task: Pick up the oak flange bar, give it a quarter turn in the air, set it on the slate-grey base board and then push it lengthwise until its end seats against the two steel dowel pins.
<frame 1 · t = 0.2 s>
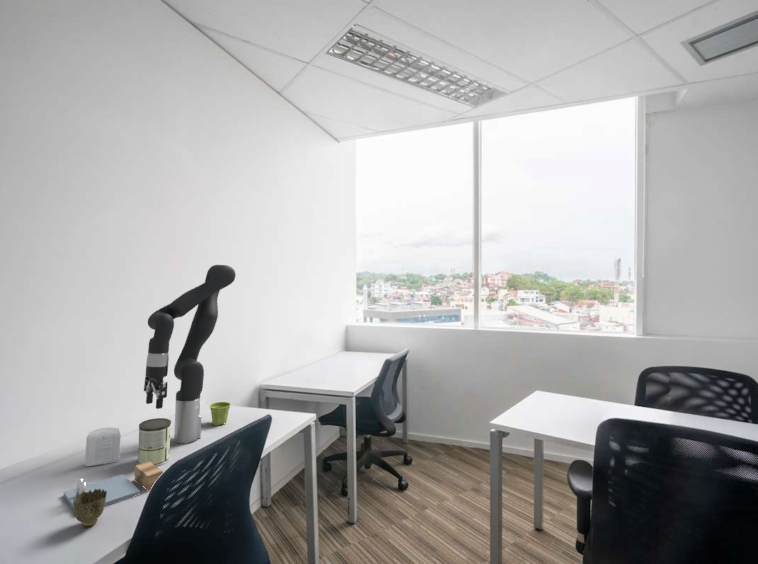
hand: (154, 405, 158), 17 cm above the table, tool pointing down, fingers open, 8 cm apart
base board: (102, 495, 125), on the table
coffee can: (153, 461, 149), on the table
dowel pins: (80, 502, 121), resting on base board
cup: (89, 525, 111), on the table
photo printer: (102, 463, 146), on the table
flange bar: (148, 483, 133), on the table
plant pot: (219, 423, 189), on the table
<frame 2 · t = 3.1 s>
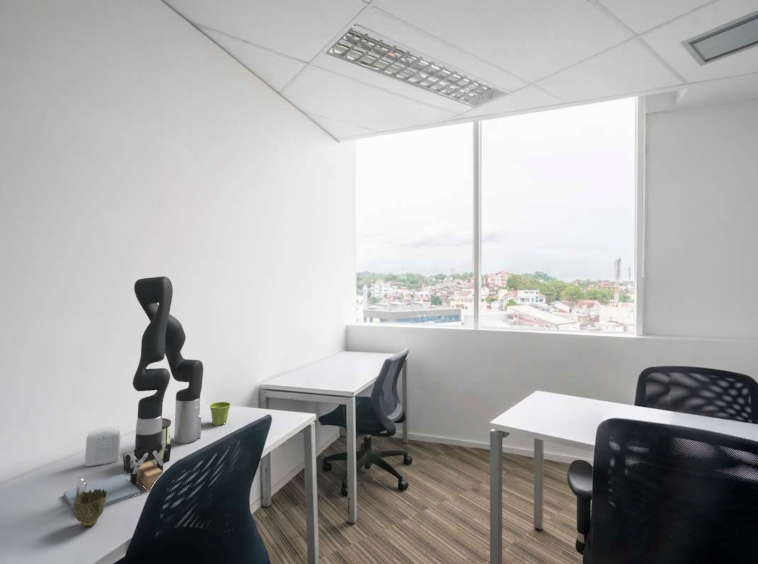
hand: (146, 480, 133), 1 cm above the table, tool pointing down, fingers open, 7 cm apart
nothing on the table moved.
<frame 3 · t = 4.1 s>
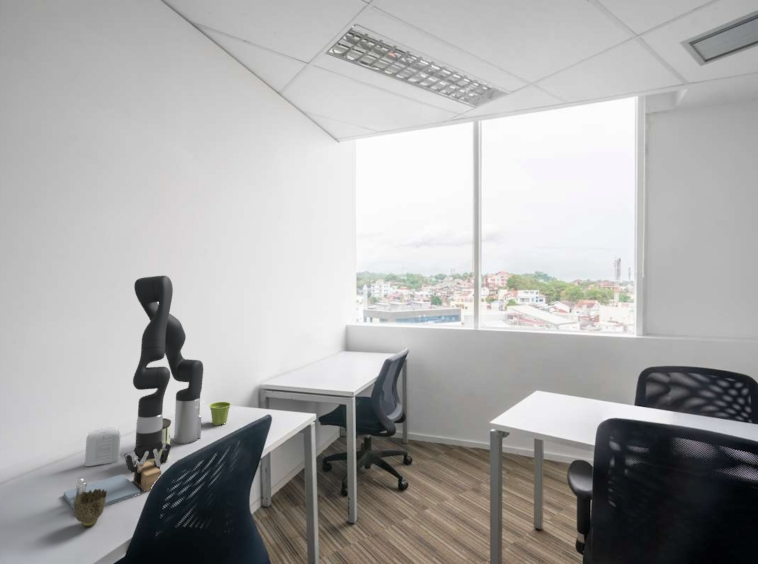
hand: (147, 479, 133), 1 cm above the table, tool pointing down, fingers closed on flange bar, 4 cm apart
flange bar: (146, 483, 133), on the table, touching gripper
everything else where it was.
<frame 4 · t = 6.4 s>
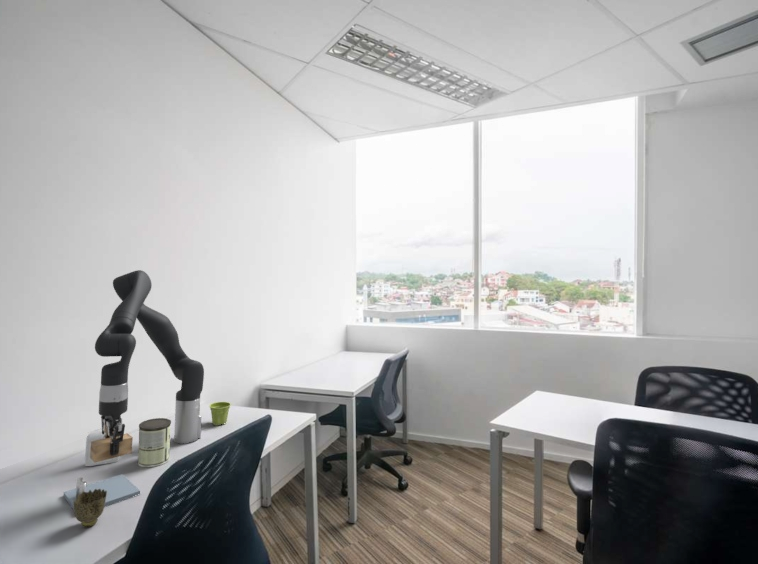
hand: (111, 451, 127), 13 cm above the table, tool pointing down, fingers closed on flange bar, 4 cm apart
flange bar: (111, 455, 127), point 12 cm above the table, touching gripper
everything else where it was.
when the fingers open (3 cm above the table, at t = 8.4 s): flange bar stays where it is, resting on base board.
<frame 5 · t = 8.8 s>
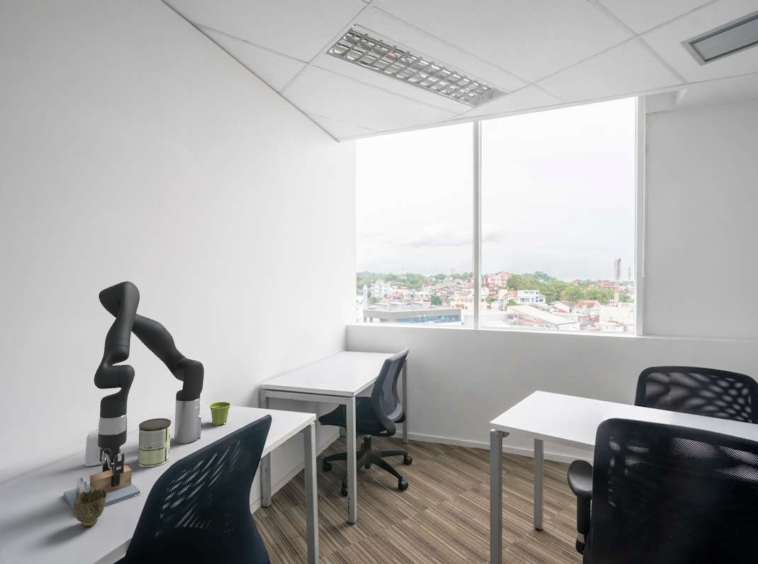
hand: (110, 481, 127), 4 cm above the table, tool pointing down, fingers open, 7 cm apart
flange bar: (110, 488, 127), point 1 cm above the table, touching base board
everything else where it was.
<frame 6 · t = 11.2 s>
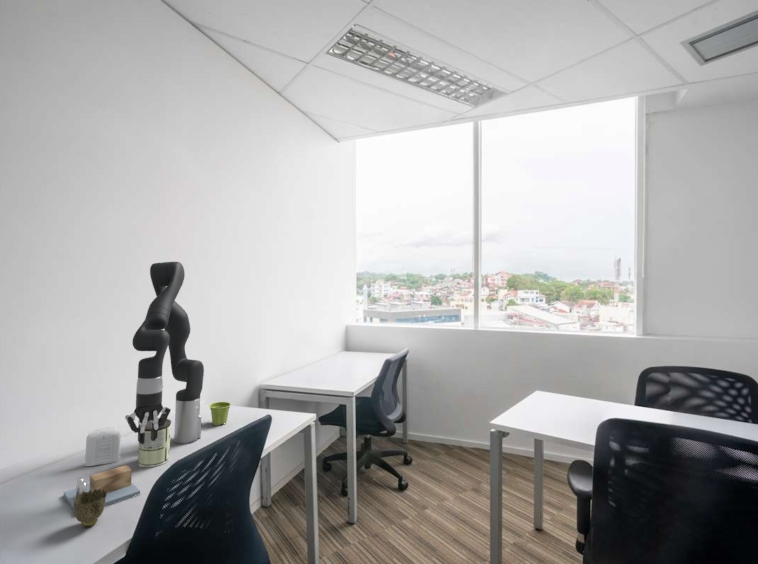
hand: (147, 441, 135), 13 cm above the table, tool pointing down, fingers open, 3 cm apart
nothing on the table moved.
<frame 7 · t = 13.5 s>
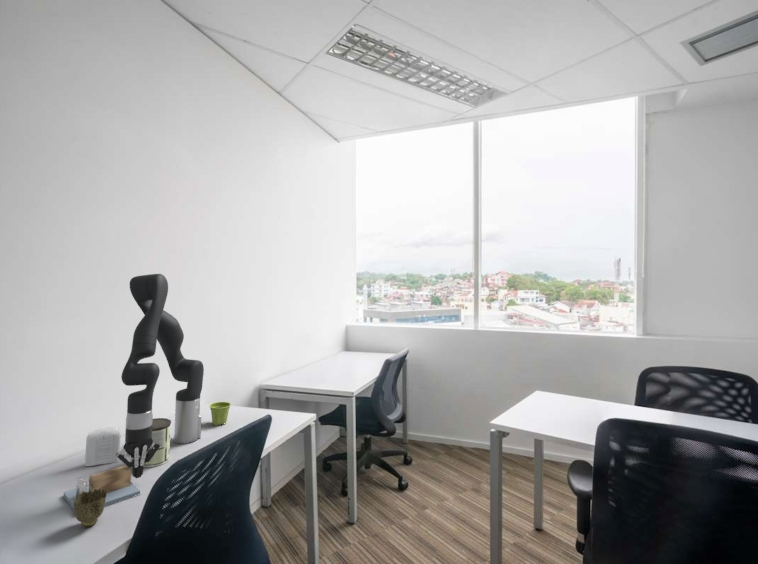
hand: (137, 476, 132), 2 cm above the table, tool pointing down, fingers closed
flange bar: (109, 488, 127), point 1 cm above the table, touching base board, gripper
everything else where it was.
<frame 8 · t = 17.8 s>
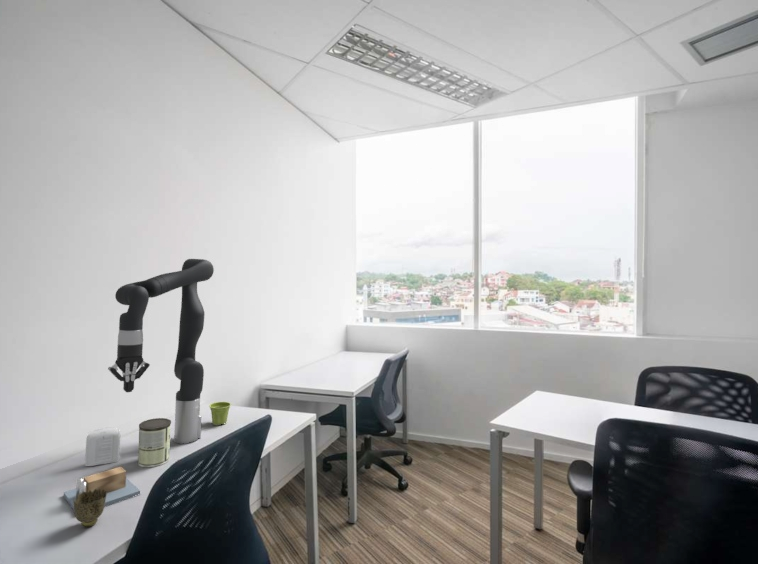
hand: (128, 391, 142), 27 cm above the table, tool pointing down, fingers closed
flange bar: (104, 490, 126), point 1 cm above the table, touching base board
everything else where it was.
at the end: flange bar 0.9 cm from the target spot, point 1.2 cm above the table; flange bar tilted 0°; the gripper is holding nothing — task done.
